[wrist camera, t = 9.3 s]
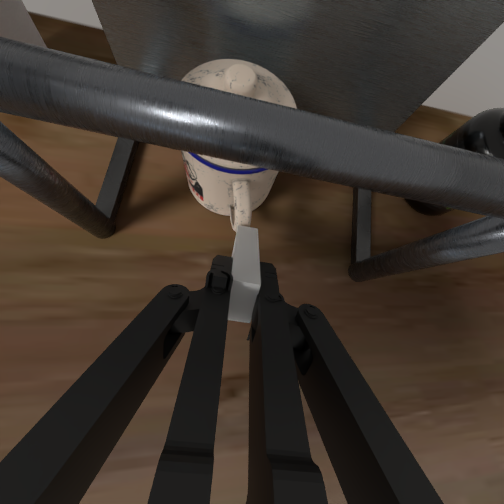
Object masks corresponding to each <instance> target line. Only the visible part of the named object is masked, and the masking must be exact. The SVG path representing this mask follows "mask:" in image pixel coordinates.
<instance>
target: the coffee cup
mask: <svg viewBox="0 0 504 504" xmlns="http://www.w3.org/2000/svg"><path fill="white" fill-rule="evenodd" d="M0 37H4V38H8V39H13V40H17V41H21V42H25V43H29V44H33V45H37V46H41V47H45V48H47V47H46V45H45V43H44V41H43V39H42V37H41V36H40V34H39V32H38V30H37V28H36V26H35V24H34V23H33V21H32V19H31V17H30V15H29V13H28V12H27V10H26V8H25V6H24V4H23V2H22V1H21V0H0Z"/></svg>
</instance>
